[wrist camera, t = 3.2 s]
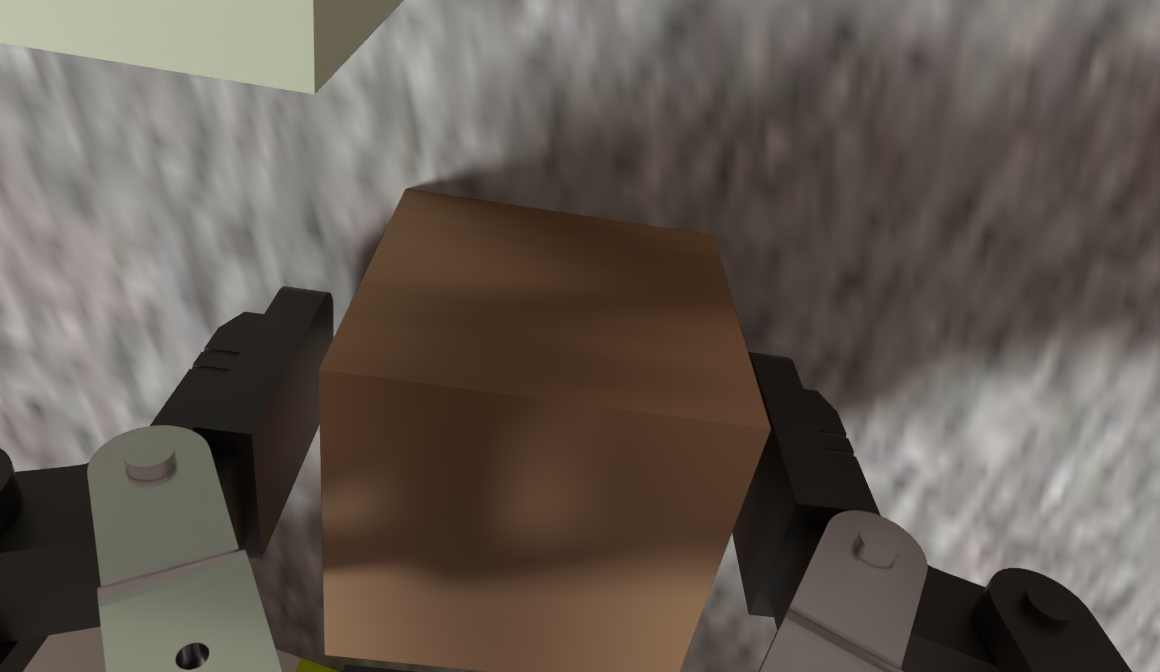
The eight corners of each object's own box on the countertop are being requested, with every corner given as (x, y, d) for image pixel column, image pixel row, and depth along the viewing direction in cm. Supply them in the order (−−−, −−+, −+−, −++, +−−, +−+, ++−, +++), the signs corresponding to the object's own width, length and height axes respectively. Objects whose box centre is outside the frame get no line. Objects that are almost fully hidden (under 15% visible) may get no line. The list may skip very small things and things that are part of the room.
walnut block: (712, 233, 13) (770, 428, 9) (649, 459, 16) (671, 690, 12) (406, 187, 13) (318, 368, 9) (395, 427, 15) (324, 654, 11)
